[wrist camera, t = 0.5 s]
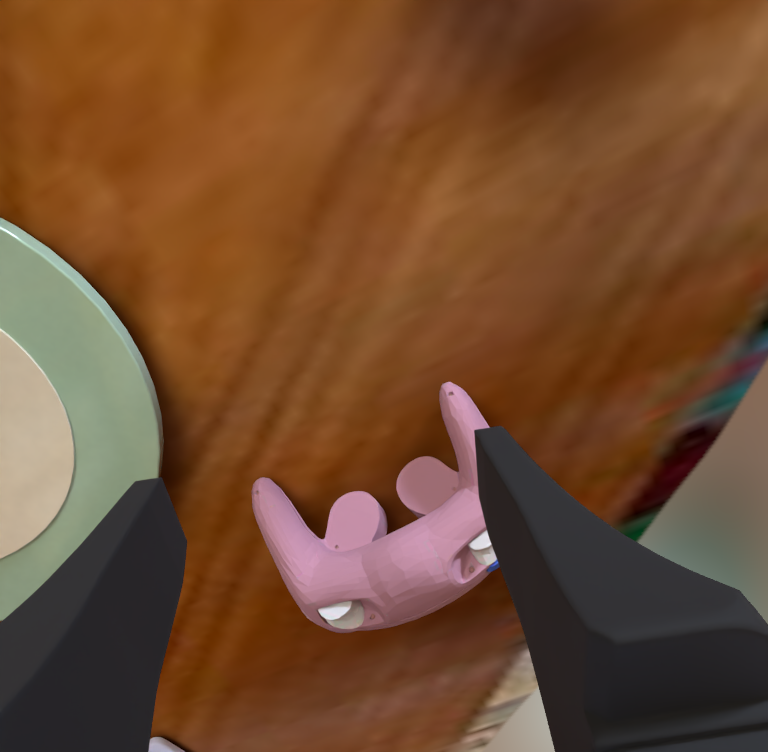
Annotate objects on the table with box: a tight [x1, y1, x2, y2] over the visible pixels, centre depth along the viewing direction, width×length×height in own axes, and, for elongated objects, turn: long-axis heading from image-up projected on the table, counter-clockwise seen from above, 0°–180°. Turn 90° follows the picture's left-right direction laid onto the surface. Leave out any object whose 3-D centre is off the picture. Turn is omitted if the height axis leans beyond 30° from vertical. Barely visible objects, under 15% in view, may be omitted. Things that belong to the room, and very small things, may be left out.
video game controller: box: [252, 382, 500, 633], centre depth 25 cm, size 10×5×7 cm, turn 118°
